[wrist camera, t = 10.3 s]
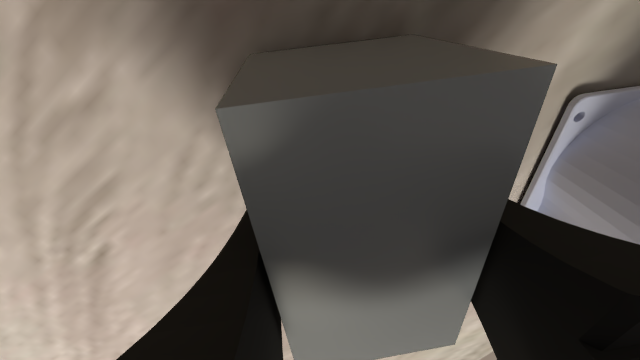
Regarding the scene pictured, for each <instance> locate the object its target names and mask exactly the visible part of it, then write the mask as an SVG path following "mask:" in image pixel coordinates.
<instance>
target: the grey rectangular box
mask: <svg viewBox="0 0 640 360" xmlns="http://www.w3.org/2000/svg"><path fill="white" fill-rule="evenodd" d="M556 66H557V64H555V63H550V62H545V61H540V60H535V59H530V58H525V57H520V56H515V55H510V54H506V53H501V52H496V51H491V50H486V49H481V48H476V47H471V46H466V45H461V44H456V43H451V42H447V41H442V40H437V39H432V38H427V37H422V36H417V35H405V36H397V37H388V38H380V39H372V40H364V41H355V42H347V43H339V44H331V45H322V46H314V47H306V48H297V49H289V50H281V51H273V52H264V53H256V54H250V55H249V57H248V58H247V60H246V61H245V63H244V64H243V66H242V68H241V69H240V71H239V72H238V74H237V75H236V77H235V79H234V80H233V82H232V83H231V85H230V86H229V88H228V90H227V91H226V93H225V94H224V96H223V97H222V99H221V101H220V102H219V104H218V105H217V107H216V109H215V110H216V113H217V116H218V119H219V122H220V126H221V129H222V132H223V135H224V138H225V141H226V145H227V148H228V151H229V154H230V157H231V161H232V164H233V167H234V170H235V173H236V176H237V180H238V183H239V186H240V189H241V192H242V196H243V199H244V202H245V205H246V208H247V211H248V215H249V218H250V221H251V224H252V227H253V231H254V234H255V237H256V240H257V243H258V246H259V250H260V253H261V256H262V259H263V262H264V266H265V269H266V272H267V275H268V278H269V282H270V285H271V288H272V291H273V294H274V297H275V301H276V304H277V307H278V310H279V313H280V317H281V320H282V323H283V326H284V329H285V332H286V336H287V339H288V342H289V345H290V348H291V352H292V355H293V358H294V360H375V359H380V358H385V357H391V356H396V355H401V354H407V353H412V352H417V351H423V350H428V349H433V348H439V347H444V346H449V345H455V343H456V340H457V337H458V334H459V332H460V329H461V326H462V323H463V321H464V318H465V315H466V312H467V310H468V307H469V304H470V302H471V299H472V296H473V293H474V291H475V288H476V285H477V282H478V280H479V277H480V274H481V271H482V269H483V266H484V263H485V260H486V258H487V255H488V252H489V250H490V247H491V244H492V241H493V239H494V236H495V233H496V230H497V228H498V225H499V222H500V219H501V217H502V214H503V211H504V209H505V206H506V203H507V200H508V198H509V195H510V192H511V189H512V187H513V184H514V181H515V178H516V176H517V173H518V170H519V167H520V165H521V162H522V159H523V157H524V154H525V151H526V148H527V146H528V143H529V140H530V137H531V135H532V132H533V129H534V126H535V124H536V121H537V118H538V116H539V113H540V110H541V107H542V105H543V102H544V99H545V96H546V94H547V91H548V88H549V85H550V83H551V80H552V77H553V74H554V72H555V69H556Z"/></svg>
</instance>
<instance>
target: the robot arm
mask: <svg viewBox="0 0 640 360" xmlns="http://www.w3.org/2000/svg"><path fill="white" fill-rule="evenodd" d="M471 302H472V304H473V306H474V308H475V310H476V312H477V315H478V317H479V319H480V321H481V323H482V325H483V327H484V330H485V332H486V334H487V337H488V339H489V341H490V344H491V346H492V348H493V351H494V353H495V355H496V357H497V360H640V86H635V87H627V88H620V89H613V90H605V91H598V92H591V93H584V94H580V95H578V96H576V97H575V98H573V99H572V100H571V101H570V103H569V104H568V106H567V108H566V110H565V112H564V114H563V116H562V118H561V121H560V123H559V125H558V127H557V129H556V131H555V133H554V135H553V137H552V139H551V141H550V143H549V146H548V148H547V150H546V152H545V154H544V156H543V158H542V160H541V162H540V164H539V166H538V168H537V170H536V173H535V175H534V177H533V179H532V181H531V183H530V185H529V187H528V189H527V191H526V193H525V195H524V198H523V200H522V202H521V204H518V203H516V202H514V201H511V200H509V199H508V200H507V203H506V206H505V209H504V211H503V214H502V217H501V219H500V222H499V225H498V228H497V230H496V233H495V236H494V239H493V241H492V244H491V247H490V250H489V252H488V255H487V258H486V260H485V263H484V266H483V269H482V271H481V274H480V277H479V280H478V282H477V285H476V288H475V291H474V293H473V296H472V299H471ZM117 360H283V350H282V331H281V317H280V313H279V310H278V307H277V304H276V301H275V297H274V294H273V291H272V288H271V285H270V282H269V278H268V275H267V272H266V269H265V266H264V262H263V259H262V256H261V253H260V250H259V246H258V243H257V240H256V237H255V234H254V231H253V227H252V224H251V221H250V218H249V215H248V211H247V210H246V212H245V214H244V215H243V217H242V219H241V221H240V222H239V224H238V226H237V227H236V229H235V231H234V232H233V234H232V235H231V237H230V239H229V240H228V242H227V243H226V245H225V246H224V248H223V249H222V251H221V252H220V253H219V255H218V256H217V257H216V259H215V260H214V261H213V263H212V264H211V265H210V267H209V268H208V269H207V270H206V272H205V273H204V274H203V275H202V276H201V278H200V279H199V280H198V281H197V282H196V283H195V285H194V286H193V287H192V288H191V289H190V290H189V291H188V293H187V294H186V295H185V296H184V297H183V298H182V299H181V300H180V301H179V302H178V303H177V304H176V305H175V306H174V307H173V308H172V309H171V310H170V311H169V312H168V313H167V314H166V315H165V316H164V317H163V318H162V319H161V320H160V321H159V322H158V323H157V324H156V325H155V326H154V327H153V328H152V329H151V330H149V331H148V332H147V333H146V334H145V335H144V336H143V337H142V338H141V339H139V340H138V341H137V342H136V343H135V344H134V345H133V346H131V347H130V348H129V349H128V350H127V351H126V352H125V353H123V354H122V355H121V356H120V357H119V358H118V359H117Z"/></svg>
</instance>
